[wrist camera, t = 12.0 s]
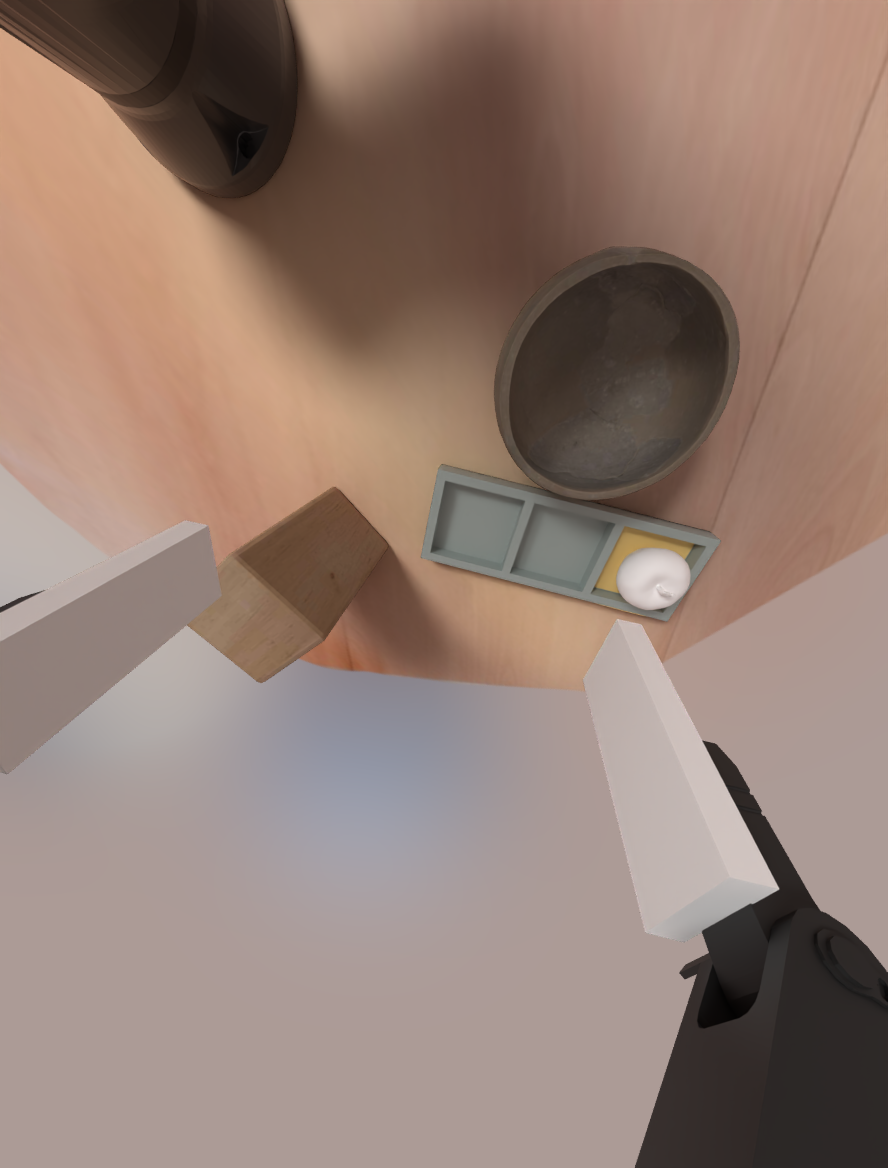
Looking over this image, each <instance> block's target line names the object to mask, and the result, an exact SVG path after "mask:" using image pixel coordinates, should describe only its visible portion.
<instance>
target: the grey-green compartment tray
mask: <svg viewBox="0 0 888 1168" xmlns="http://www.w3.org/2000/svg"><path fill="white" fill-rule="evenodd" d="M720 542H721V540H720V539H719V538H717V537H716V536H715V535H713V534H712V533H711V532H709V531H705V530H701V529H697V528H693V527H690V526H686V525H682V524H678V523H674V522H670V521H666V520H662V519H658V518H654V517H650V516H646V515H642V514H638V513H634V512H630V511H626V510H622V509H618V508H614V507H610V506H606V505H602V504H598V503H594V502H590V501H586V500H582V499H574V498H570V497H566V496H562V495H559V494H556V493H553V492H551V491H547V490H543V489H539V488H535V487H531V486H527V485H523V484H519V483H515V482H511V481H507V480H503V479H499V478H495V477H491V476H487V475H483V474H479V473H475V472H471V471H467V470H463V469H459V468H455V467H451V466H447V465H443V464H442V465H441V466H440V467H439V469H438V473H437V478H436V483H435V488H434V493H433V498H432V503H431V508H430V513H429V518H428V523H427V528H426V534H425V539H424V544H423V549H422V554H421V558H423V559H427V560H431V561H435V562H438V563H442V564H446V565H450V566H454V567H458V568H462V569H466V570H469V571H473V572H477V573H481V574H485V575H489V576H493V577H497V578H500V579H504V580H508V581H512V582H516V583H520V584H524V585H528V586H531V587H535V588H539V589H543V590H547V591H551V592H555V593H559V594H562V595H566V596H570V597H574V598H578V599H582V600H586V601H590V602H593V603H597V604H598V605H602V606H606V607H610V608H614V609H618V610H622V611H626V612H629V613H633V614H637V615H641V616H645V617H646V616H648V617H651V618H655V619H659V620H663V621H668V620H669V618H670V617H671V615H672V614H673V612H674V611H675V609H676V608H677V606H678V605H679V603H680V602H681V600H682V599H683V597H684V596H685V594H686V593H687V591H688V590H689V588H690V587H691V585H692V584H693V582H694V581H695V579H696V578H697V576H698V575H699V573H700V572H701V570H702V569H703V567H704V566H705V564H706V563H707V561H708V560H709V558H710V557H711V555H712V554H713V552H714V551H715V549H716V548H717V546H718V545H719V543H720ZM640 548H662V549H668V550H671V551H674V552H676V553H677V554H679V555H680V556H682V558H683V559H684V560H685V561H686V562H687V564H688V566H689V569H690V584H689V587H688V590H687V591H686V592H685V593H684V595H683V596H682V597H681V598H680V599H678V600H677V601H676V602H675V603H674V604H672V605H671V606H668V607H666V608H661V609H655V610H644V609H640V608H637V607H635V606H633V605H631V604H630V603H628V602H627V601H626V600H625V599H624V598H623V597H622V596H621V594H620V592H619V590H618V588H617V584H616V576H617V572H618V570H619V567H620V565H621V563H622V562H623V560H624V559H625V557H626V556H627V555H629V554H630V553H632V552H634V551H635V550H637V549H640Z"/></svg>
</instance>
